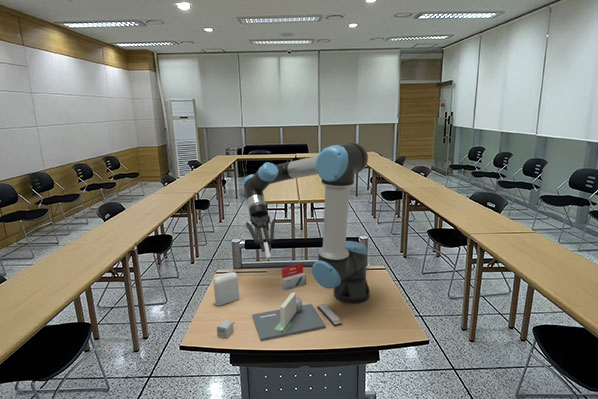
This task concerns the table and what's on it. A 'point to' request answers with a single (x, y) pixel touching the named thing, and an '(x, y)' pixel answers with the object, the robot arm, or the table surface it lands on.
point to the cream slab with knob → (289, 309)
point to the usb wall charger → (225, 328)
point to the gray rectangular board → (300, 323)
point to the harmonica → (329, 315)
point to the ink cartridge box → (293, 277)
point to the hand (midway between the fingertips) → (268, 258)
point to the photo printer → (226, 288)
